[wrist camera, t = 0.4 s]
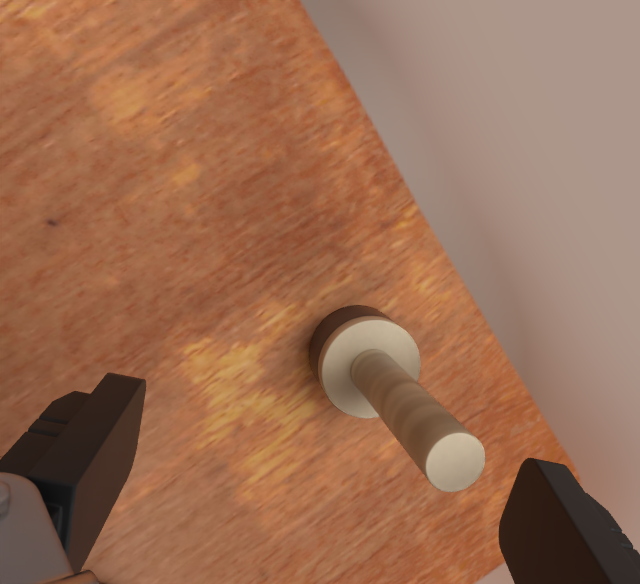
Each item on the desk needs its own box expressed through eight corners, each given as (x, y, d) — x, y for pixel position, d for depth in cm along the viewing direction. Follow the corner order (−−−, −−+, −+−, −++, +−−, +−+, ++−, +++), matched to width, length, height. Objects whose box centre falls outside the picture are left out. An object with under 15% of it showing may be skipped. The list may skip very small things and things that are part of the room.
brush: (296, 324, 34) (365, 426, 21) (385, 291, 35) (506, 369, 22) (325, 408, 36) (407, 554, 22) (409, 375, 36) (537, 496, 23)
